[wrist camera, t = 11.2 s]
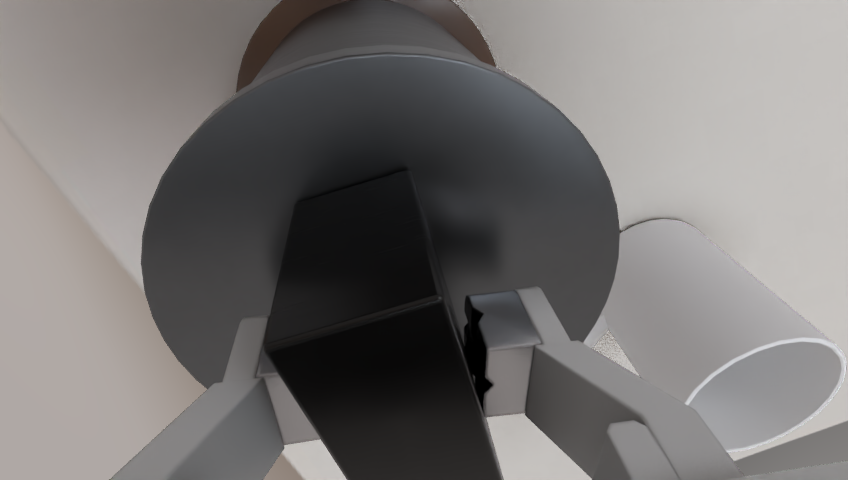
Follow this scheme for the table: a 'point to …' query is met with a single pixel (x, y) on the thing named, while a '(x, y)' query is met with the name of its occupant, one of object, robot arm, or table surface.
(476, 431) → the bin
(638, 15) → the table surface
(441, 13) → the disc
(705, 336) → the mug
